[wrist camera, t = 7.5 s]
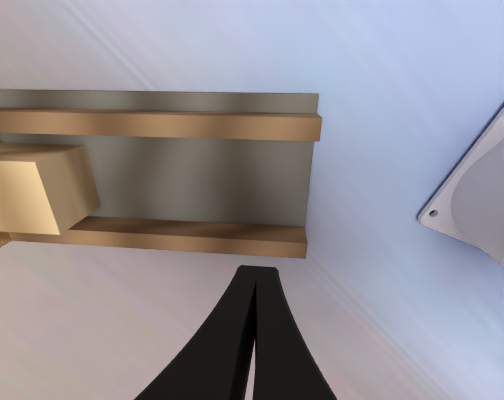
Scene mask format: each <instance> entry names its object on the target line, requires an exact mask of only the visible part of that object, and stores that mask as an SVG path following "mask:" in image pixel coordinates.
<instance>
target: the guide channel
mask: <svg viewBox="0 0 504 400" xmlns="http://www.w3.org/2000/svg"><path fill="white" fill-rule="evenodd" d="M318 97H319V94H301V93H225V92H149V91H73V90H0V139H1V141H2V142H7V143H41V144H74V145H85V146H86V149H87V153H88V157H89V161H90V165H91V169H92V172H93V176H94V180H95V184H96V188H97V192H98V196H99V199H100V203H101V206H100V207H99V208H97V209H96V210H94V211H93V212H92V213H90V214H89V215H87V216H86V217H85V218H83V219H82V220H80V221H79V222H78V223H76V224H75V225H73V226H72V227H71V228H69V229H68V230H66V231H65V232H64V233H62V234H61V235H54V234H36V233H19V232H8V233H9V236H10V238H11V240H12V241H26V242H42V243H59V244H75V245H92V246H108V247H124V248H141V249H157V250H173V251H190V252H206V253H223V254H239V255H255V256H272V257H288V258H304V259H306V252H307V238H306V232H305V219H306V209H307V200H308V191H309V181H310V172H311V163H312V153H313V144H314V141H319V140H320V131H321V123H322V118H321V117H320V116H319V115H318V114H317V107H318Z"/></svg>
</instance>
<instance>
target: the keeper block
mask: <svg viewBox="0 0 504 400" xmlns="http://www.w3.org/2000/svg"><path fill="white" fill-rule="evenodd" d="M100 206H101V203H100V199H99V196H98V192H97V188H96V184H95V180H94V176H93V172H92V169H91V165H90V161H89V157H88V153H87V149H86V146H85V145H74V144H41V143H7V142H1V143H0V231H2V232H19V233H36V234H54V235H61V234H62V233H64V232H65V231H66V230H68V229H69V228H71V227H72V226H73V225H75V224H76V223H78V222H79V221H80V220H82V219H83V218H85V217H86V216H87V215H89V214H90V213H92V212H93V211H94V210H96V209H97V208H99V207H100Z"/></svg>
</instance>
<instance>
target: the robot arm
mask: <svg viewBox="0 0 504 400" xmlns="http://www.w3.org/2000/svg"><path fill="white" fill-rule="evenodd" d="M432 210H435V211H434V213H432V214H429V213H430V212H431V211H432ZM418 221H419V222H420V223H421V224H422V225H424V226H426V227H429V228H431V229H434V230H436V231H438V232H441V233H443V234H446V235H448V236H451V237H453V238H456V239H458V240H460V241H463V242H465V243H468V244H470V245H473V246H475V247H477V248H480V249H482V250H483V251H485V252H486V253H487V254H488V255H489V256H491V257H492V258H493V259H494V260H495V261H497V262H498V263H499V264H500V265H501V266H503V267H504V107H503V108H502V110H501V111H500V112H499V113H498V115H497V116H496V117H495V119H494V120H493V121H492V122H491V124H490V125H489V126H488V127H487V129H486V130H485V131H484V133H483V134H482V135H481V136H480V138H479V139H478V140H477V141H476V143H475V144H474V145H473V147H472V148H471V149H470V150H469V152H468V153H467V154H466V156H465V157H464V158H463V159H462V161H461V162H460V163H459V164H458V166H457V167H456V168H455V170H454V171H453V172H452V173H451V175H450V176H449V177H448V179H447V180H446V181H445V182H444V184H443V185H442V186H441V187H440V189H439V190H438V191H437V193H436V194H435V195H434V196H433V198H432V199H431V200H430V202H429V203H428V204H427V205H426V207H425V208H424V209H423V210H422V212H421V213H420V214H419V216H418ZM254 341H255V378H254V390H253V400H337V398H336V397H335V395H334V393H333V392H332V390H331V388H330V387H329V385H328V383H327V382H326V380H325V379H324V377H323V375H322V373H321V371H320V370H319V368H318V366H317V364H316V363H315V361H314V359H313V357H312V355H311V353H310V351H309V350H308V348H307V346H306V344H305V342H304V340H303V338H302V335H301V333H300V331H299V329H298V327H297V325H296V323H295V320H294V318H293V315H292V313H291V311H290V308H289V306H288V303H287V301H286V298H285V295H284V292H283V289H282V286H281V282H280V278H279V272H278V270H277V269H276V267H261V266H246V265H241V266H240V267H238V269H237V271H236V273H235V275H234V277H233V279H232V281H231V283H230V284H229V286H228V288H227V289H226V291H225V293H224V294H223V296H222V297H221V299H220V300H219V302H218V303H217V305H216V306H215V308H214V309H213V311H212V312H211V313H210V315H209V316H208V317H207V319H206V320H205V321H204V323H203V324H202V325H201V327H200V328H199V329H198V331H197V332H196V333H195V334H194V336H193V337H192V338H191V339H190V340H189V342H188V343H187V344H186V345H185V346H184V348H183V349H182V350H181V351H180V352H179V353H178V354H177V356H176V357H175V358H174V359H173V360H172V361H171V362H170V363H169V364H168V365H167V367H166V368H165V369H164V370H163V371H162V372H161V373H160V374H159V375H158V376H157V377H156V378H155V379H154V380H153V381H152V382H151V383H150V384H149V385H148V386H147V387H146V388H145V389H144V390H143V391H142V392H141V393H140V394H139V395H138V396H137V397H136V398H135V399H134V400H244V399H245V394H246V388H247V382H248V376H249V370H250V364H251V358H252V353H253V347H254Z"/></svg>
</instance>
